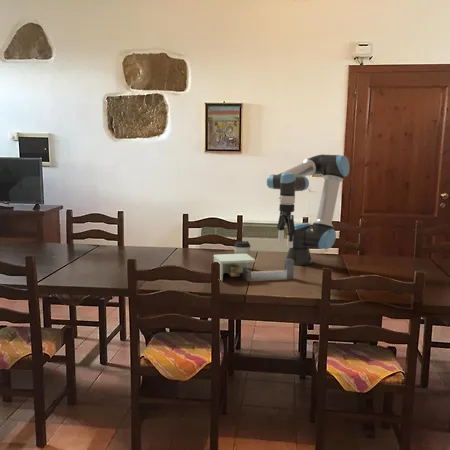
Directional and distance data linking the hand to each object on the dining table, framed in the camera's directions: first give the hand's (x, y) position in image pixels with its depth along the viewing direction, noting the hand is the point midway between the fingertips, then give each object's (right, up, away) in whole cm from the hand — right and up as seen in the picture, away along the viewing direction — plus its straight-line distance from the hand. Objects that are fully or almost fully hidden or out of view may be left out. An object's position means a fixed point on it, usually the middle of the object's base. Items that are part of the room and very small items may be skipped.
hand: (285, 245), depth 263 cm
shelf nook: (-26, -16, +4) cm, 31 cm away
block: (-26, -16, +6) cm, 31 cm away
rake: (-9, -17, +2) cm, 19 cm away
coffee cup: (-22, -14, +21) cm, 33 cm away
